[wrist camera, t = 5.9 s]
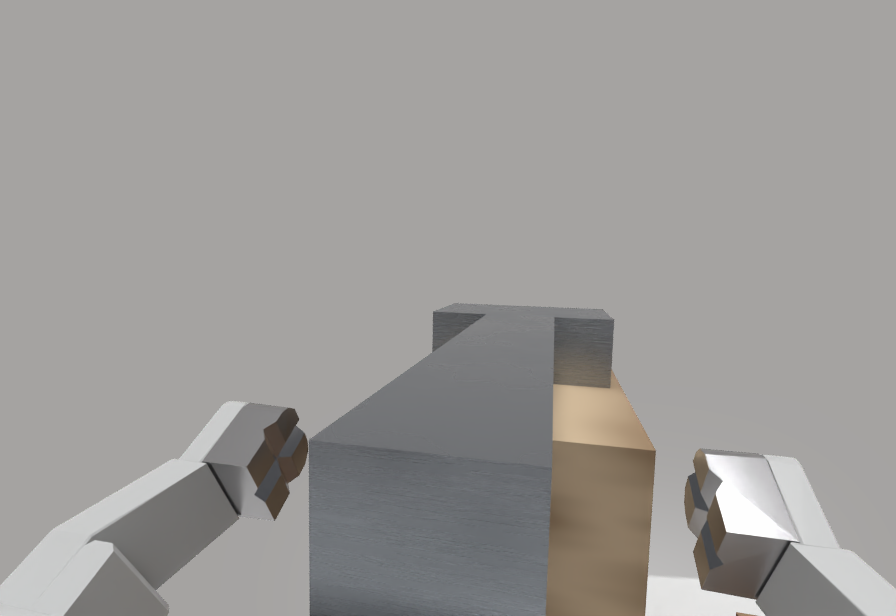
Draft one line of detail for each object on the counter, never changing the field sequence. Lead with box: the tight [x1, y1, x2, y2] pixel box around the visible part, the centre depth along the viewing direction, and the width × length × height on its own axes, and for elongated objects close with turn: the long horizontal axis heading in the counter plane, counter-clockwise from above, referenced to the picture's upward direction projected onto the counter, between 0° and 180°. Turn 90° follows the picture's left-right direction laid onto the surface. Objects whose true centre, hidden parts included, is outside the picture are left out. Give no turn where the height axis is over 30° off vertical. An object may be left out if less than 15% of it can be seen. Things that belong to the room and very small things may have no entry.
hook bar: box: [309, 303, 614, 616], centre depth 16 cm, size 21×8×3 cm, turn 167°
